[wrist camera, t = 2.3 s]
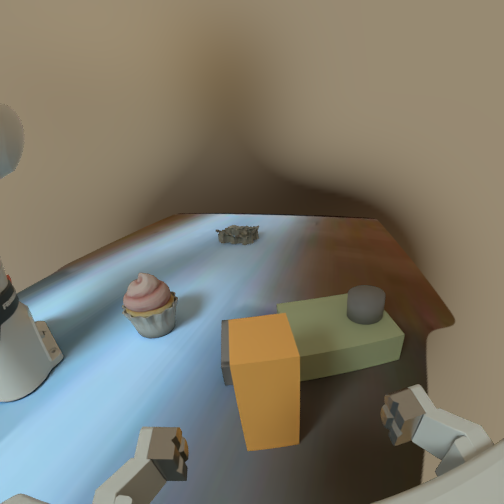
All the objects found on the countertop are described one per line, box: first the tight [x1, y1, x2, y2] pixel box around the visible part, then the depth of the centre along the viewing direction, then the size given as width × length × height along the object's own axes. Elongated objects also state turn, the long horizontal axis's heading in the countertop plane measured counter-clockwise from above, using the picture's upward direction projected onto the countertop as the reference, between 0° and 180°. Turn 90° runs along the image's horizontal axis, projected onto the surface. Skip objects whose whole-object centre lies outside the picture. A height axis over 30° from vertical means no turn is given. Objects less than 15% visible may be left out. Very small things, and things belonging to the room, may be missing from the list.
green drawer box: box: [221, 285, 405, 385], centre depth 38 cm, size 12×22×7 cm, turn 94°
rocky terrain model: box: [216, 225, 259, 245], centre depth 84 cm, size 11×8×4 cm
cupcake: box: [122, 273, 178, 338], centre depth 45 cm, size 9×9×10 cm
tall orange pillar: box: [228, 313, 300, 451], centre depth 26 cm, size 6×5×12 cm
